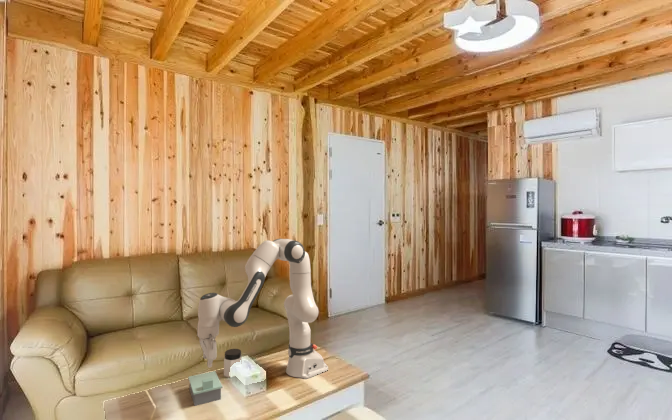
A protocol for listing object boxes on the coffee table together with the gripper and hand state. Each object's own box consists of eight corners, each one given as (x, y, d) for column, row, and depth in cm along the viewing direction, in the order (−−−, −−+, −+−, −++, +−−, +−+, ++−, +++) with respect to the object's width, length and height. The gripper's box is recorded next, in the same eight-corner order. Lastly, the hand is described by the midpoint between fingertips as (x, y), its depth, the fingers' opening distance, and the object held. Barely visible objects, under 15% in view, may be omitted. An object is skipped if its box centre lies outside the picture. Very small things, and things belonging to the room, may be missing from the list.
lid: (214, 372, 171) (215, 363, 171) (222, 387, 157) (222, 378, 157) (188, 378, 165) (188, 369, 165) (193, 394, 151) (193, 384, 151)
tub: (213, 385, 170) (214, 373, 170) (220, 401, 157) (220, 387, 157) (189, 391, 165) (189, 378, 165) (194, 407, 152) (194, 394, 152)
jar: (226, 380, 175) (226, 356, 175) (221, 373, 182) (221, 350, 182) (243, 376, 180) (244, 352, 180) (238, 369, 187) (239, 347, 187)
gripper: (220, 337, 147) (220, 370, 148) (211, 322, 165) (210, 352, 165) (205, 340, 144) (204, 373, 144) (196, 324, 162) (196, 354, 162)
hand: (207, 362), depth 155 cm, fingers open, 8 cm apart
